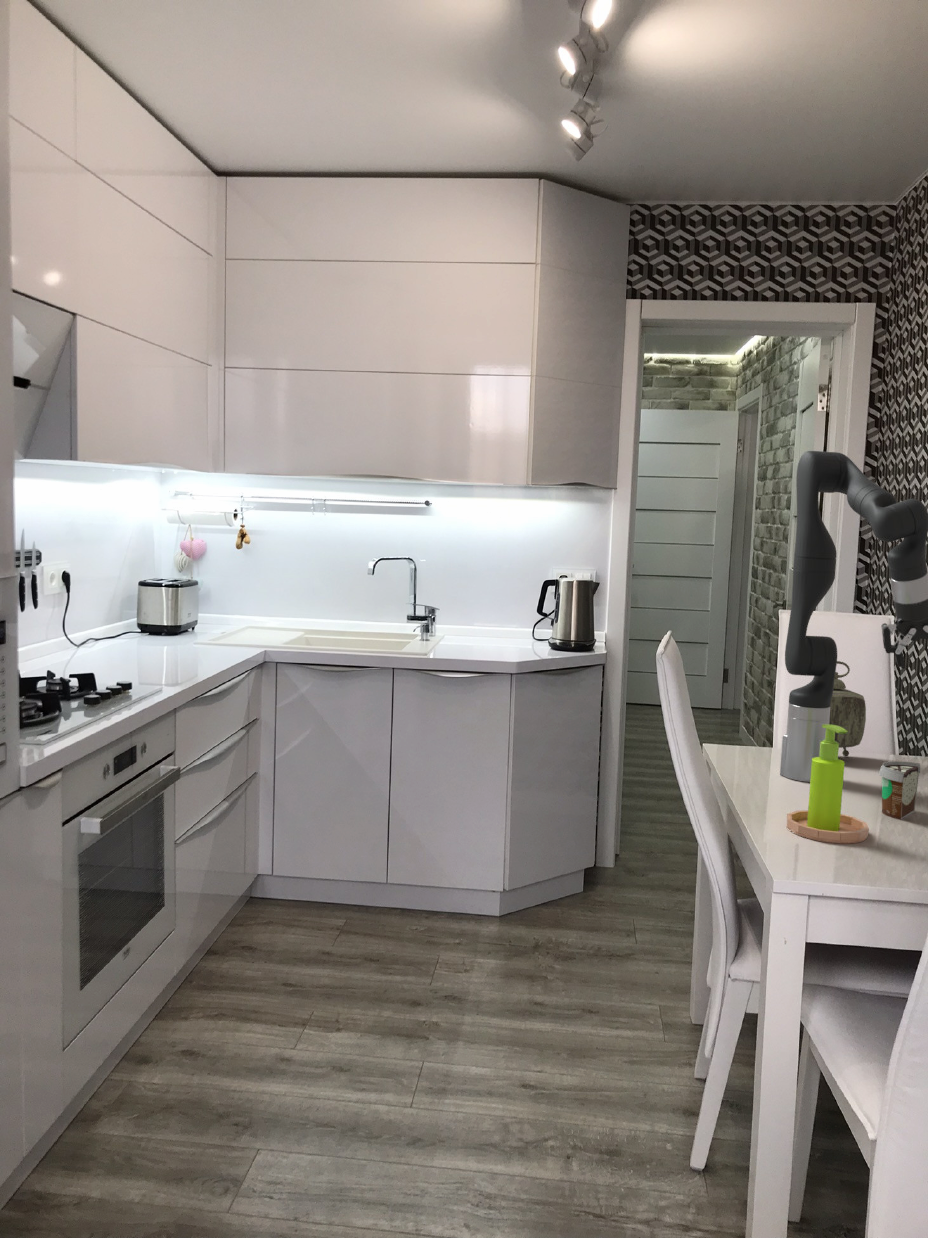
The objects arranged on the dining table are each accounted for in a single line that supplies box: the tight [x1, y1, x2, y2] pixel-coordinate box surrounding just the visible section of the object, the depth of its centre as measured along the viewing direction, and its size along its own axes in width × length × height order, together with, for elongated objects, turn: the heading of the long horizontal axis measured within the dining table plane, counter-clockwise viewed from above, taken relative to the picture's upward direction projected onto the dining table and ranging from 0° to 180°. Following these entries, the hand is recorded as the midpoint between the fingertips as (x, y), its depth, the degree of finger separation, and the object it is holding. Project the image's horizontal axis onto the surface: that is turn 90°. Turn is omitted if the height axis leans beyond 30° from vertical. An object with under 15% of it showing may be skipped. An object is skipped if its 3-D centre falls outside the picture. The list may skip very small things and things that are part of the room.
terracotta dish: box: [786, 809, 870, 844], centre depth 197 cm, size 15×15×2 cm
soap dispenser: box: [807, 724, 848, 831], centre depth 196 cm, size 6×7×20 cm
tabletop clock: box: [829, 660, 867, 757], centre depth 261 cm, size 14×9×25 cm, turn 94°
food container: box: [878, 760, 921, 821], centre depth 213 cm, size 12×6×10 cm, turn 141°
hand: (924, 663), depth 217 cm, fingers open, 8 cm apart
